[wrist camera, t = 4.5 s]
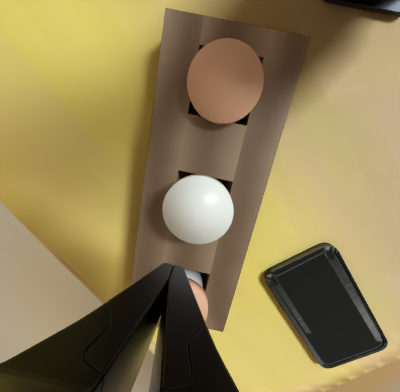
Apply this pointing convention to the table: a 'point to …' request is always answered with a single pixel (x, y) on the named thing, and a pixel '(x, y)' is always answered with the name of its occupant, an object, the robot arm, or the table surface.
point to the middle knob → (198, 209)
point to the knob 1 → (198, 291)
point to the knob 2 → (225, 80)
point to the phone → (326, 306)
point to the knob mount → (212, 150)
